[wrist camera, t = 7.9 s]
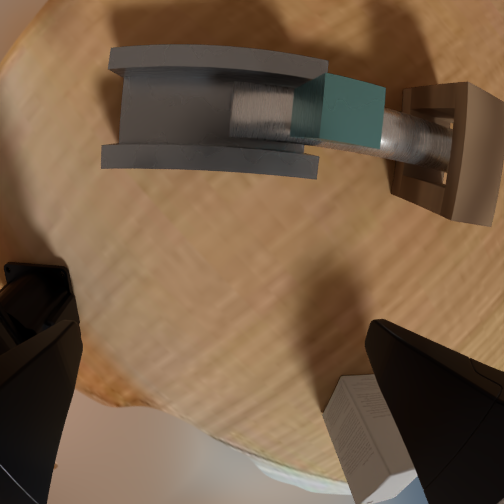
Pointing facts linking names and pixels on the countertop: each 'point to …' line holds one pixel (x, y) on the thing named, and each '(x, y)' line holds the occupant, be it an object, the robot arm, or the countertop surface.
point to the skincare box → (367, 440)
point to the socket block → (457, 153)
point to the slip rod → (337, 120)
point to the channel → (201, 109)
